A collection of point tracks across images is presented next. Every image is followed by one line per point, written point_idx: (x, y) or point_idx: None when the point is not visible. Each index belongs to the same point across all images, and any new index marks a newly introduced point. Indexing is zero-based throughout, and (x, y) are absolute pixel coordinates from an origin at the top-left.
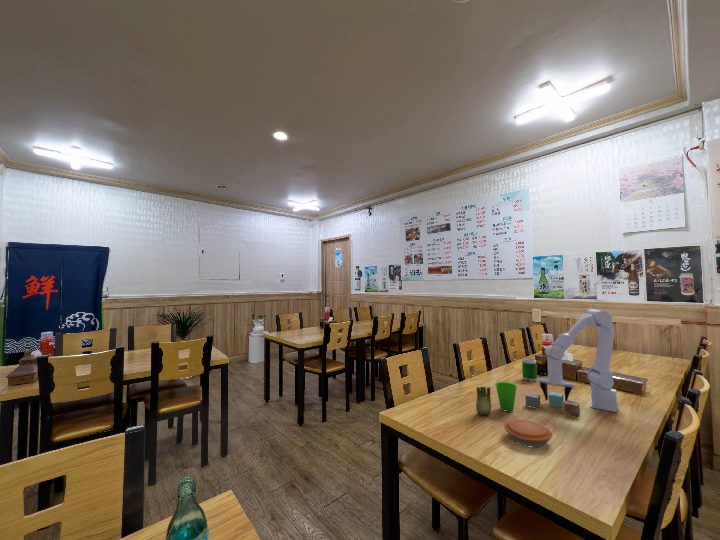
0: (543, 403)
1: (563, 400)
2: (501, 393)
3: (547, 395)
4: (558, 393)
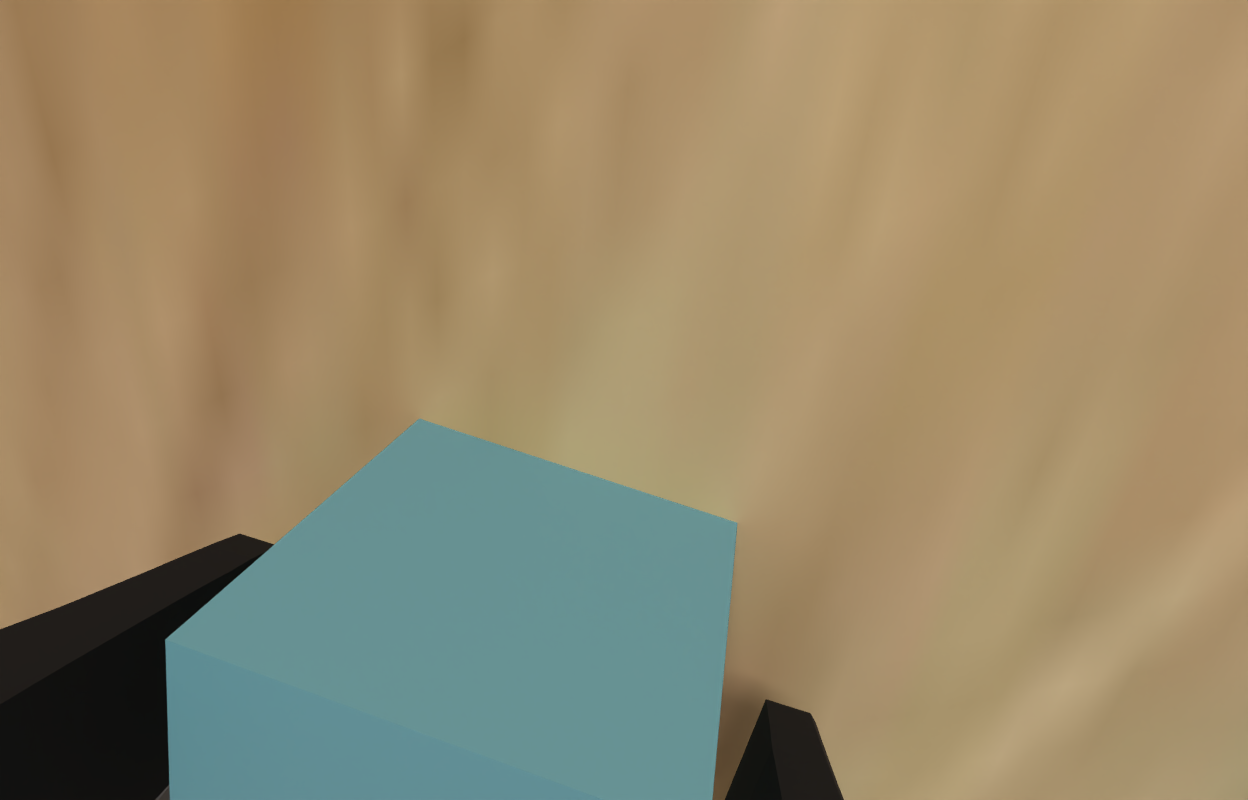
0: None
1: (719, 640)
2: None
3: None
4: (491, 786)
